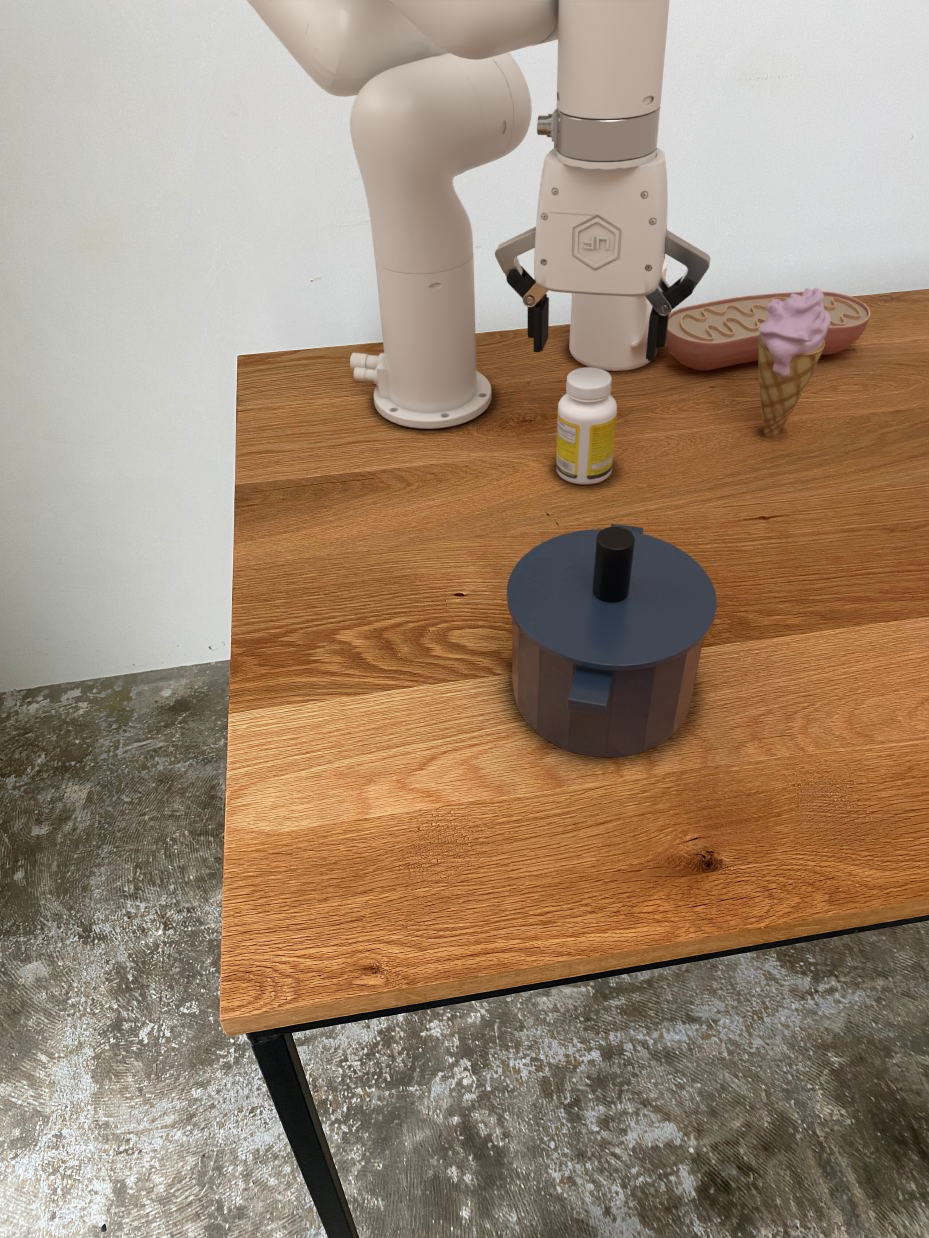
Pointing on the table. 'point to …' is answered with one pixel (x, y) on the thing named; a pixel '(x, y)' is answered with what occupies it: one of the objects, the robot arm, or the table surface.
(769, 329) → the ice cream cone
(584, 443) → the supplement bottle
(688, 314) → the mitochondrion model
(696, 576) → the pot lid
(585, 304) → the mug
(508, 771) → the table surface
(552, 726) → the pot
